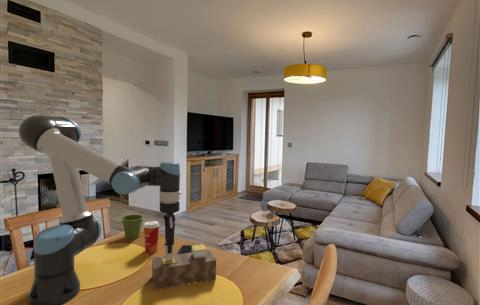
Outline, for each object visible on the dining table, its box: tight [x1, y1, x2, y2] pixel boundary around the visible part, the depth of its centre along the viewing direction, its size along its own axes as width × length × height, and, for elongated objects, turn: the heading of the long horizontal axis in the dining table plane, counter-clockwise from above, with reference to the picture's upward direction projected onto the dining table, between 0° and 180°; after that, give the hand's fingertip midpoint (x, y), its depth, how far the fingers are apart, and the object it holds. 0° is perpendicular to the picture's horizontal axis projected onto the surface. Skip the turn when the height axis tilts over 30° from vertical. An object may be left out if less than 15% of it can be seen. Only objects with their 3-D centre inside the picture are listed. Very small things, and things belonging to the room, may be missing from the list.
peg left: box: [162, 257, 176, 265], centre depth 107 cm, size 5×5×7 cm
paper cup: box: [142, 220, 160, 254], centre depth 134 cm, size 8×8×14 cm
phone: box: [177, 244, 193, 254], centre depth 133 cm, size 8×1×15 cm
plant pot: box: [120, 213, 145, 240], centre depth 151 cm, size 12×12×11 cm
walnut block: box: [151, 249, 217, 291], centre depth 109 cm, size 24×10×8 cm, turn 111°
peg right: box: [192, 243, 207, 261], centre depth 111 cm, size 5×5×7 cm
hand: (169, 259), depth 107 cm, fingers closed
